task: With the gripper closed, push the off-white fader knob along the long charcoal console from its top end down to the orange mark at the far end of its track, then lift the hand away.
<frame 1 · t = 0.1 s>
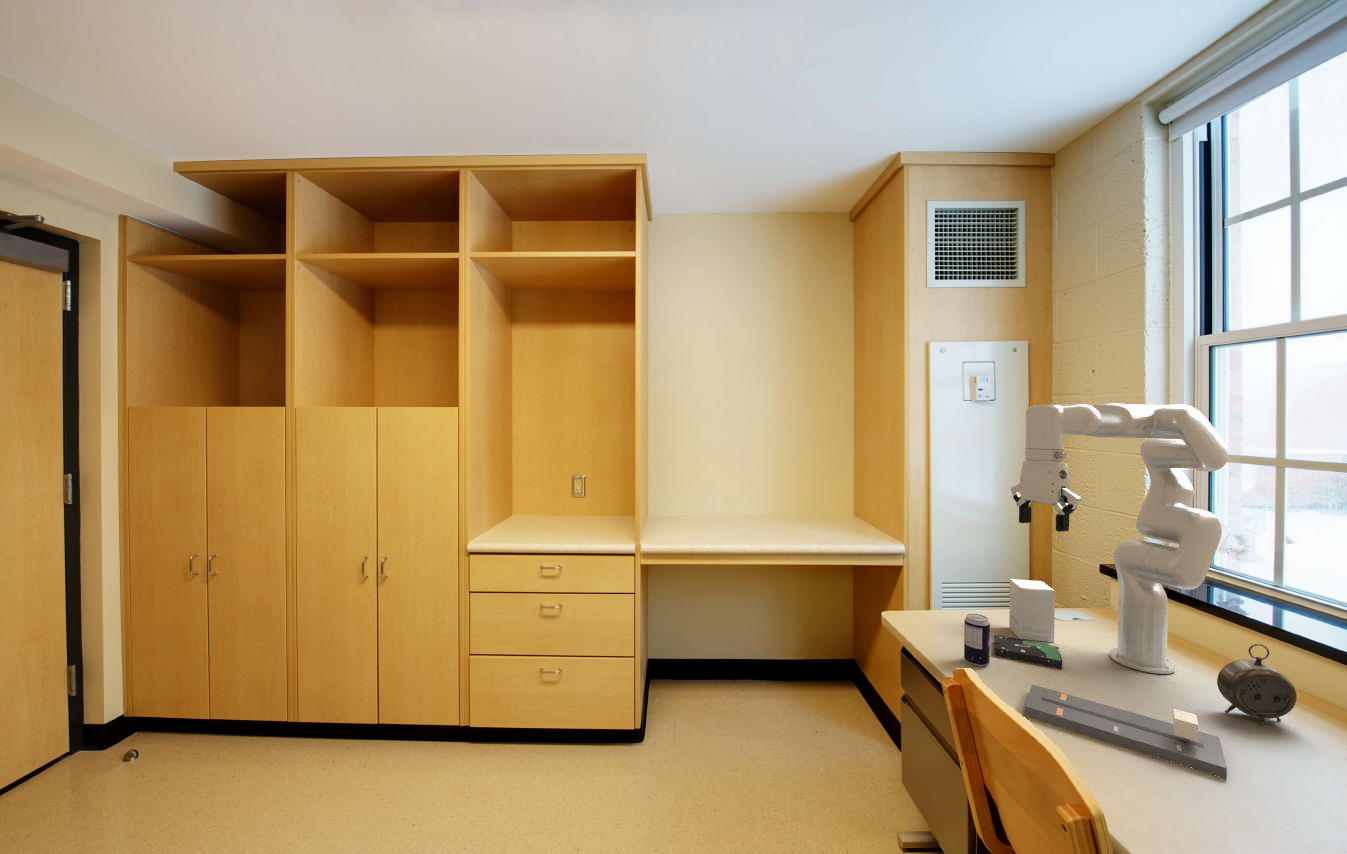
hand: (1042, 526, 127), 37 cm above the table, tool pointing down, fingers open, 9 cm apart
alarm clock: (1256, 721, 110), on the table
beverage can: (976, 663, 136), on the table
supplement box: (1031, 635, 153), on the table
disk drive: (1026, 657, 140), on the table
fader knob: (1185, 727, 100), point 5 cm above the table, slide at 10.0 cm
fader console: (1116, 730, 107), on the table
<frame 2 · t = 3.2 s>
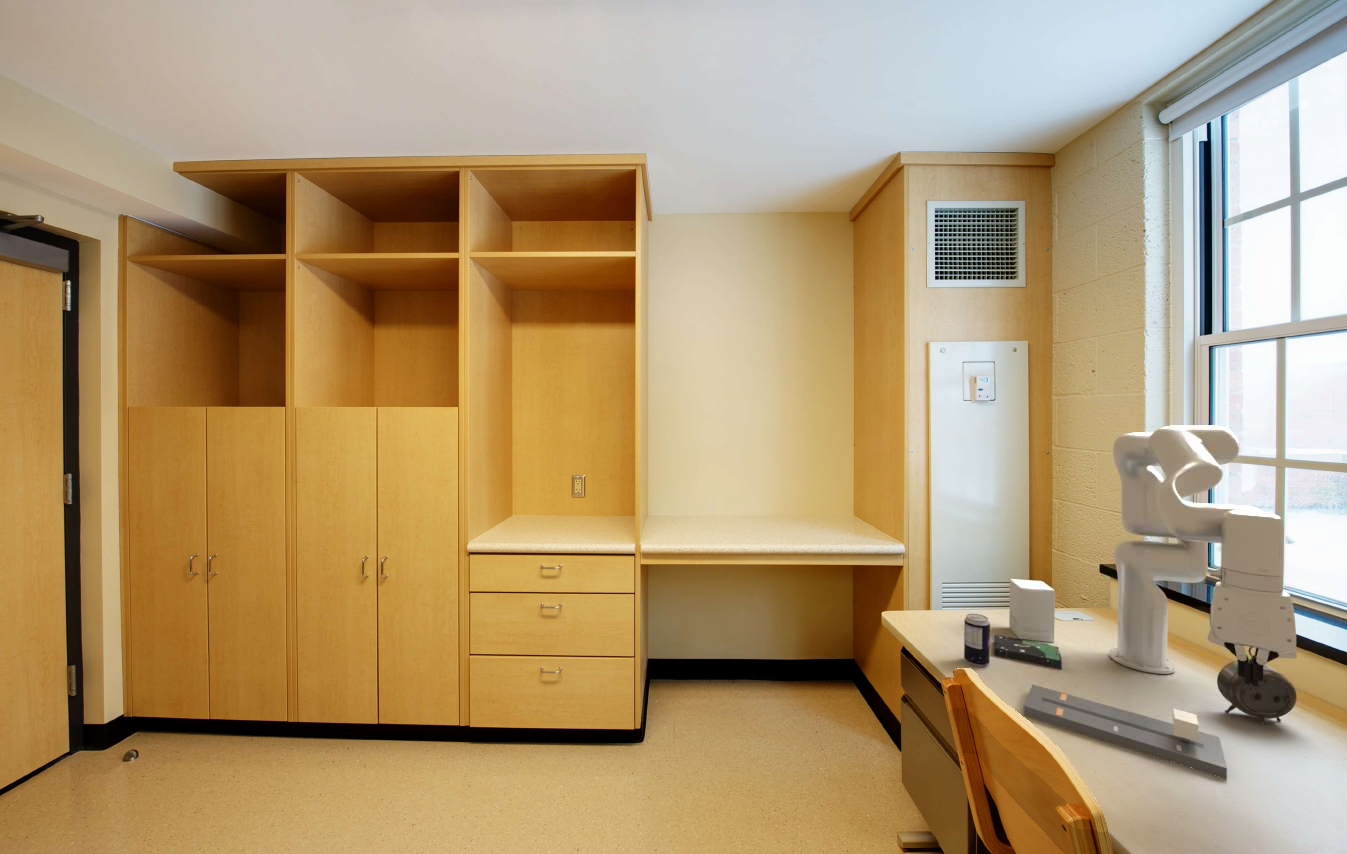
hand: (1249, 682, 94), 16 cm above the table, tool pointing down, fingers closed
nothing on the table moved.
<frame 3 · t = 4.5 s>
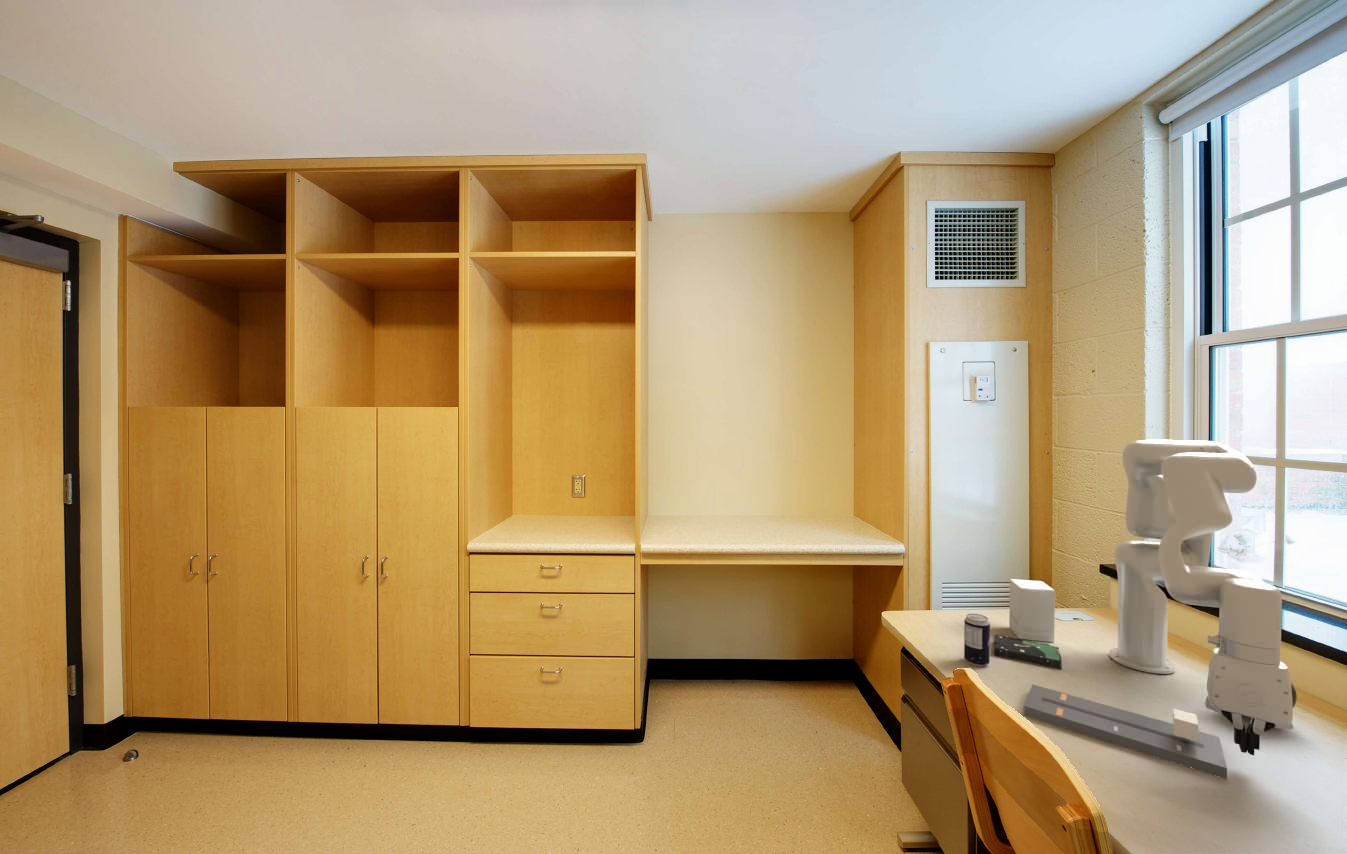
hand: (1246, 750, 95), 4 cm above the table, tool pointing down, fingers closed
nothing on the table moved.
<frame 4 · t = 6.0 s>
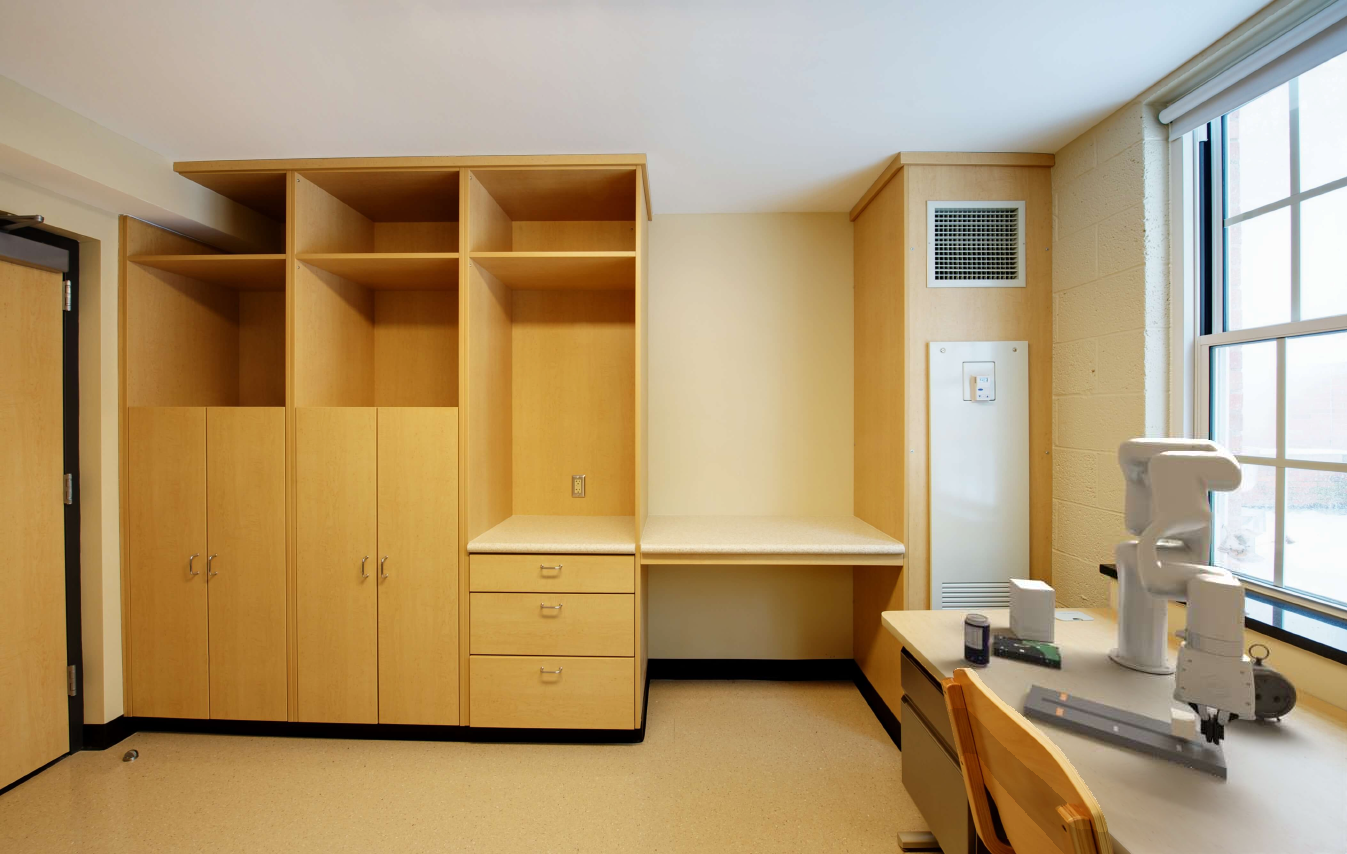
hand: (1211, 740, 98), 4 cm above the table, tool pointing down, fingers closed
fader knob: (1182, 727, 100), point 5 cm above the table, slide at 9.7 cm, touching gripper
everything else where it was.
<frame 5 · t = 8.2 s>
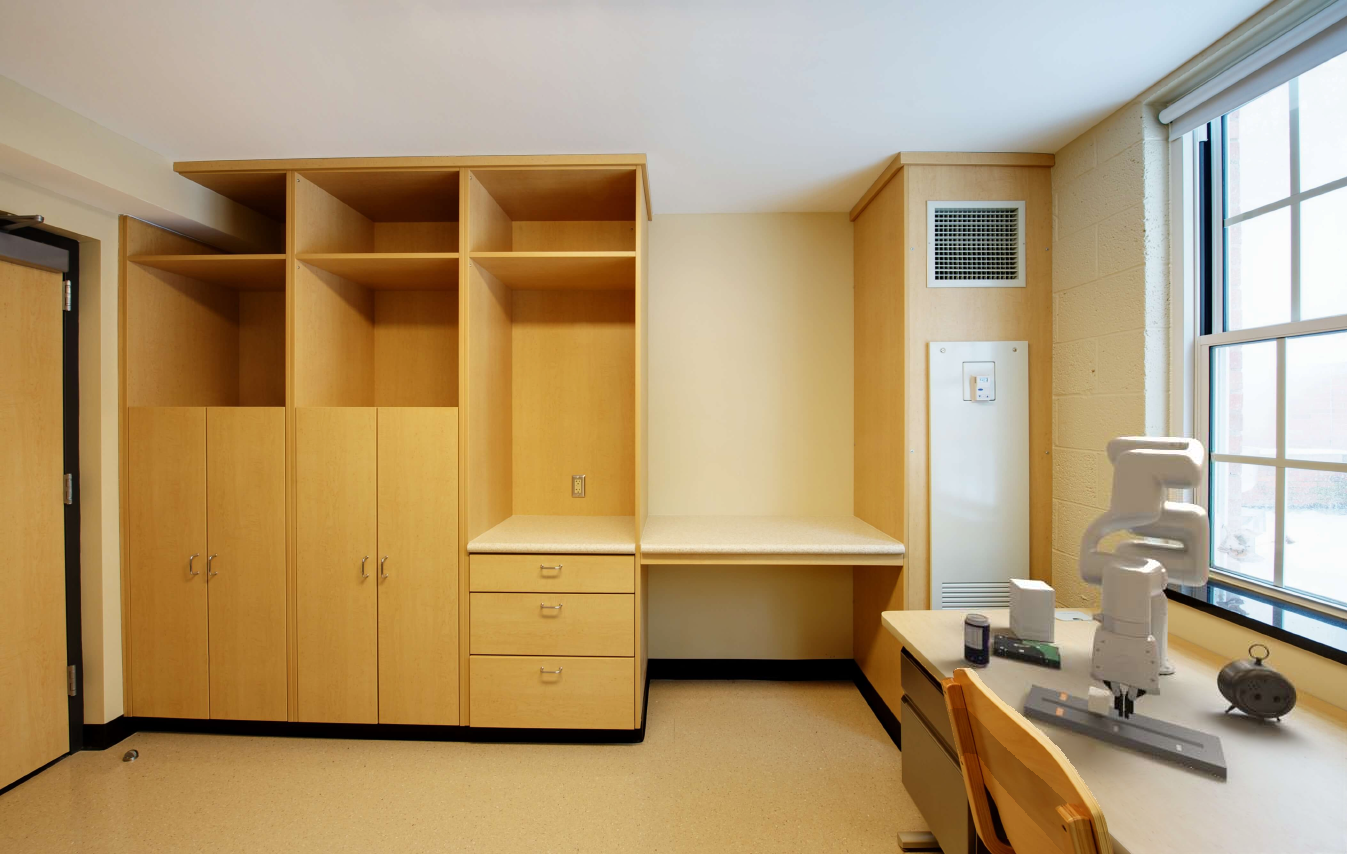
hand: (1123, 714, 106), 4 cm above the table, tool pointing down, fingers closed
fader knob: (1099, 703, 108), point 5 cm above the table, slide at -2.8 cm, touching gripper
everything else where it was.
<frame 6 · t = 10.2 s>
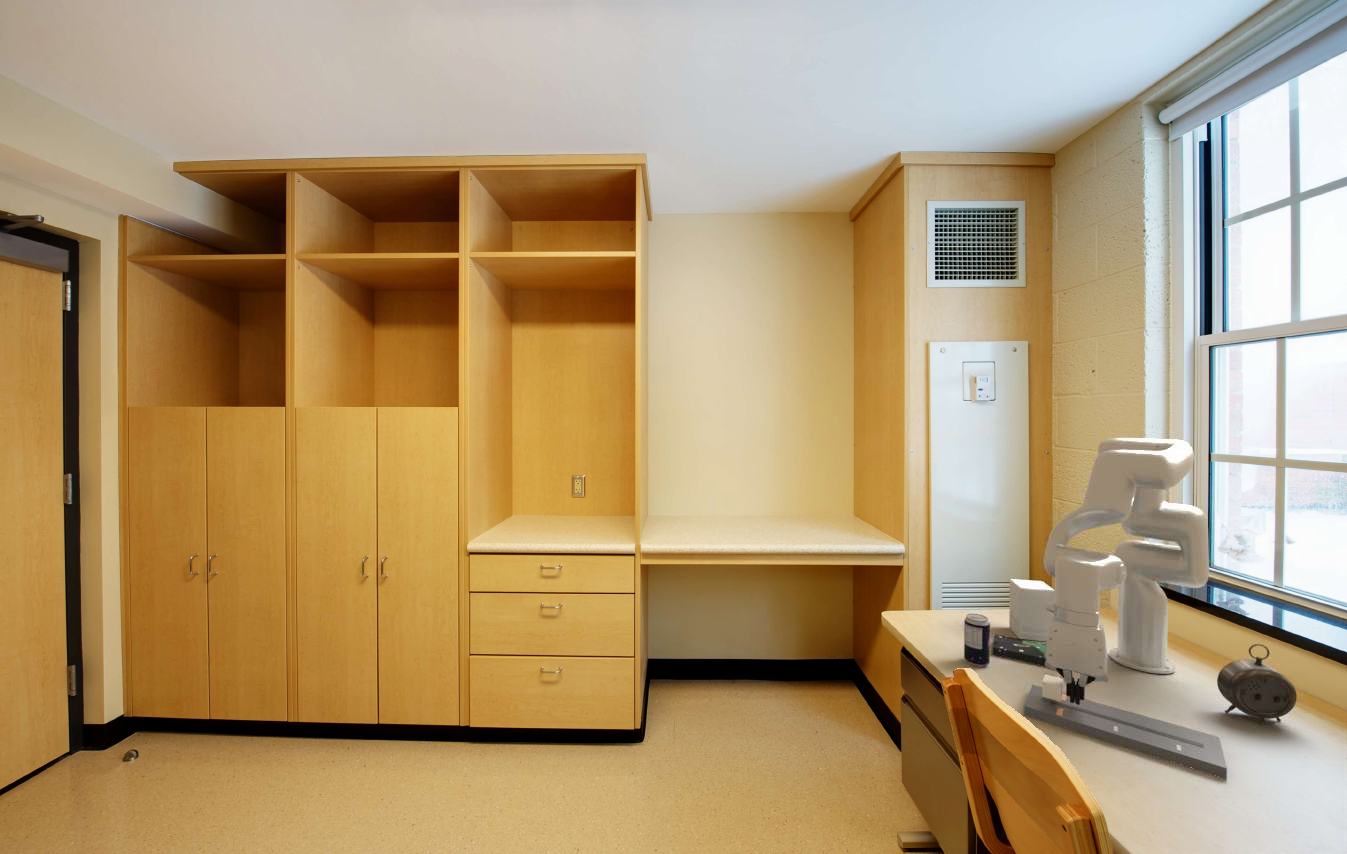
hand: (1075, 701, 111), 4 cm above the table, tool pointing down, fingers closed
fader knob: (1052, 690, 114), point 5 cm above the table, slide at -10.6 cm, touching gripper
everything else where it was.
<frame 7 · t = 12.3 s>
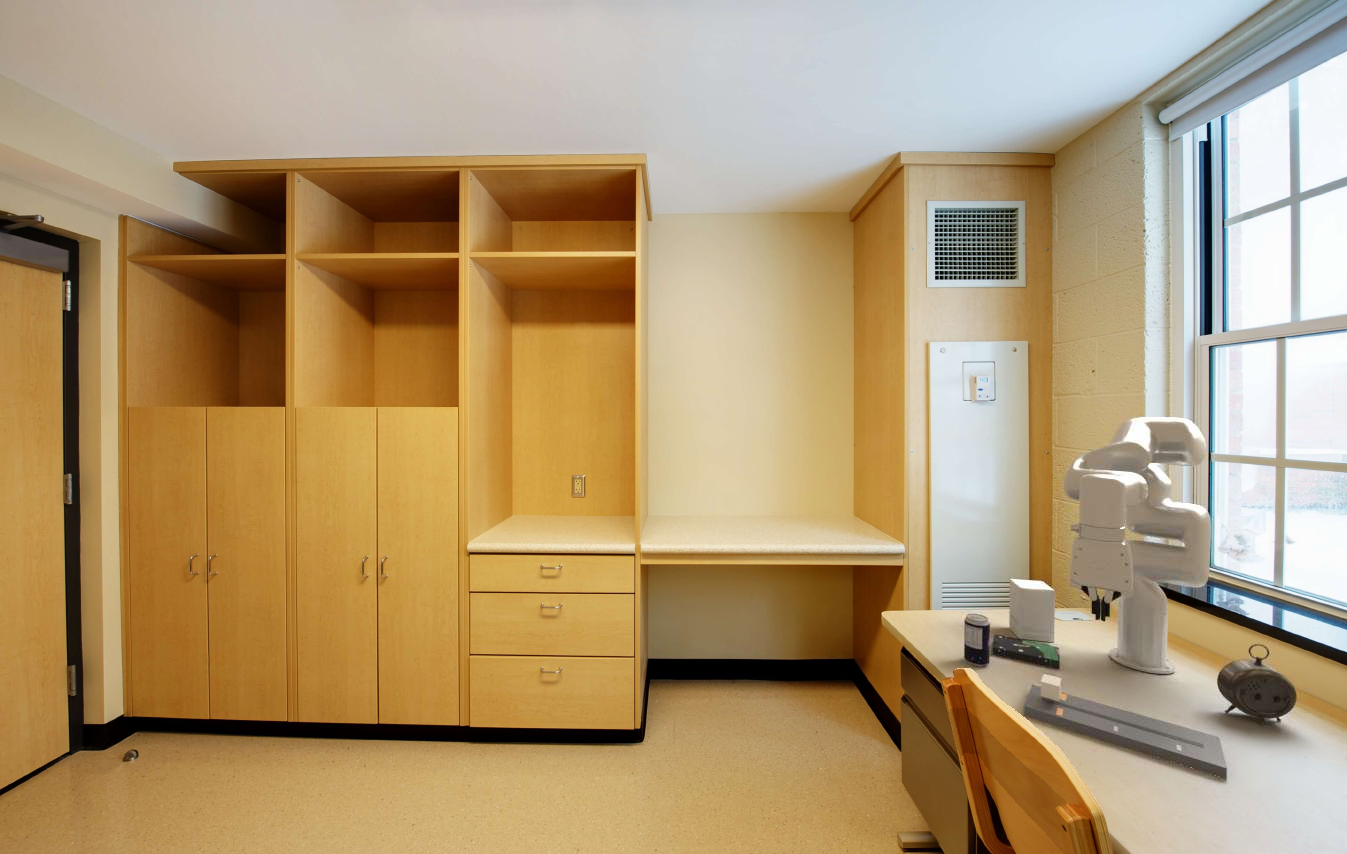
hand: (1100, 618, 111), 21 cm above the table, tool pointing down, fingers closed
fader knob: (1051, 689, 114), point 5 cm above the table, slide at -10.9 cm
everything else where it was.
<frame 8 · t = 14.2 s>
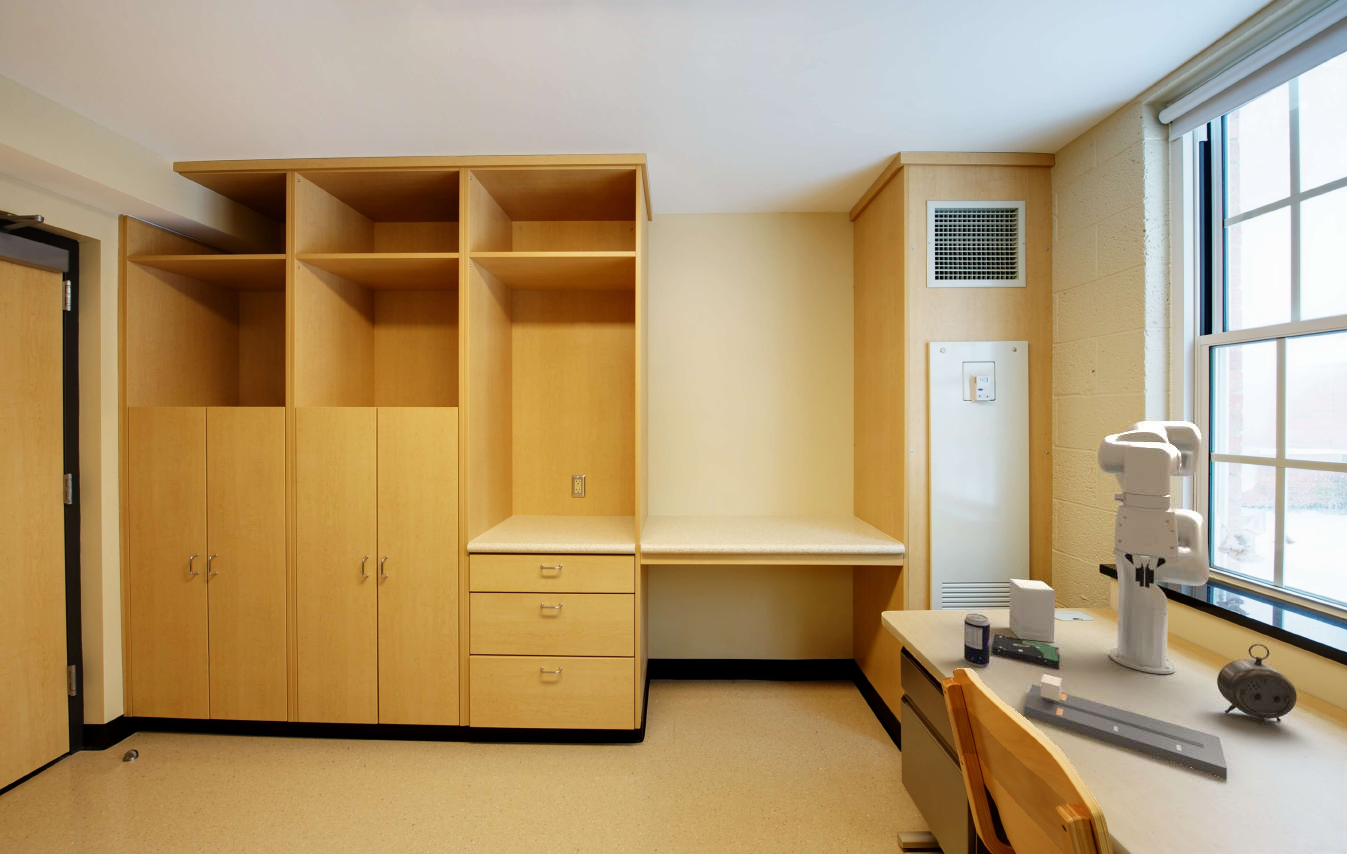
hand: (1144, 585, 114), 27 cm above the table, tool pointing down, fingers closed
nothing on the table moved.
at the end: fader knob slide at -10.9 cm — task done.
